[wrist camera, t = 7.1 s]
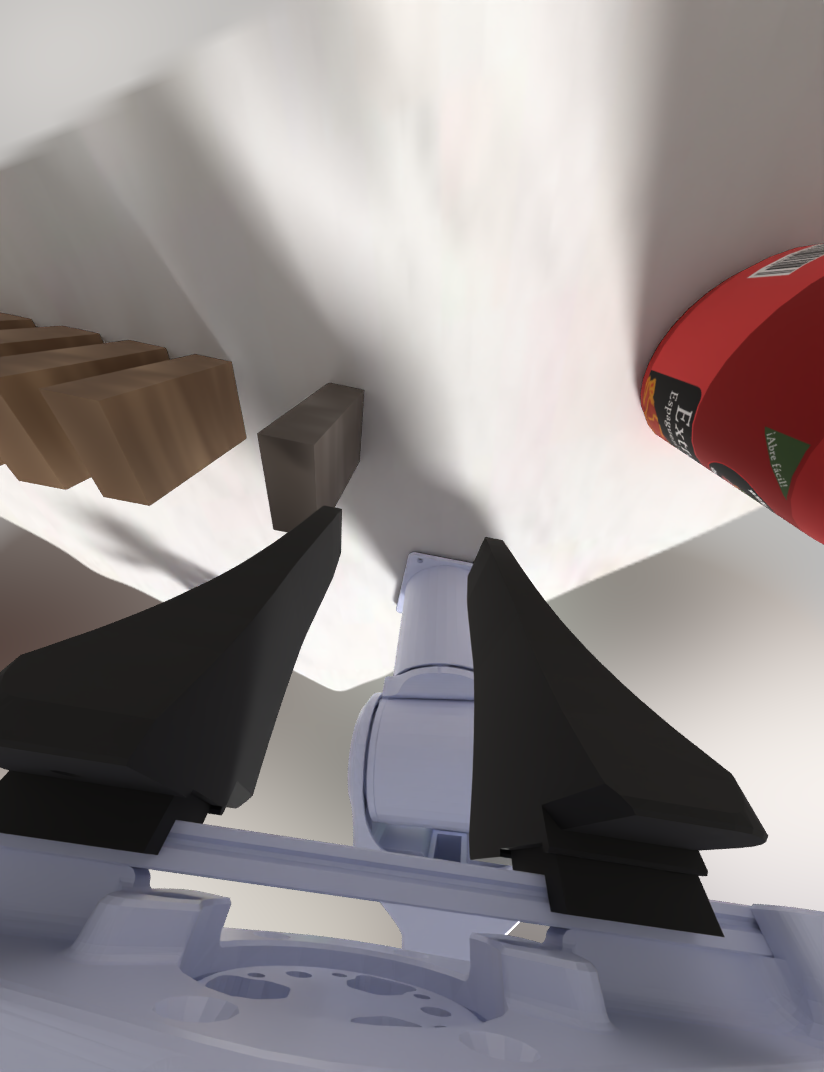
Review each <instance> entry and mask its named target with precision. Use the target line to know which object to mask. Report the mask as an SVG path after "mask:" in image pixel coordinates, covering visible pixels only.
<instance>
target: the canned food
mask: <svg viewBox="0 0 824 1072" xmlns="http://www.w3.org/2000/svg"><path fill="white" fill-rule="evenodd" d="M641 406H642V409H643V412H644V415H645V418H646V421H647V423H648V425H649V427H650V428H651V429H652V430H653V432H654V433H655V434H656V435H658V436H659V437H661V438H662V439H664V440H665V441H667V442H668V443H670V444H671V445H673V446H674V447H676V448H677V449H679V450H680V451H682V452H683V453H685V454H686V455H688V456H689V457H691V458H692V459H694V460H695V461H697V462H698V463H700V464H701V465H703V466H704V467H706V468H707V469H709V470H710V471H712V472H713V473H715V474H716V475H718V476H719V477H721V478H722V479H724V480H725V481H727V482H728V483H730V484H731V485H733V486H734V487H736V488H738V489H739V490H741V491H742V492H744V493H745V494H747V495H748V496H750V497H751V498H753V499H754V500H756V501H757V502H759V503H760V504H762V505H763V506H765V507H766V508H768V509H769V510H771V511H772V512H774V513H775V514H777V515H778V516H780V517H781V518H783V519H784V520H786V521H787V522H789V523H791V524H792V525H794V526H795V527H797V528H798V529H799V530H801V531H802V532H804V533H805V534H807V535H808V536H810V537H812V538H813V539H815V540H816V541H818V542H820V543H822V544H824V243H822V244H816V245H810V246H804V247H798V248H794V249H791V250H788V251H786V252H783V253H780V254H777V255H774V256H771V257H769V258H767V259H765V260H763V261H761V262H759V263H757V264H755V265H753V266H751V267H749V268H747V269H745V270H743V271H741V272H740V273H738V274H736V275H734V276H732V277H730V278H728V279H727V280H725V281H724V282H722V283H721V284H719V285H718V286H717V287H715V288H714V289H712V290H711V291H709V292H708V293H707V294H705V295H704V296H703V297H702V298H701V299H700V300H698V301H697V302H696V303H695V304H694V305H693V306H691V307H690V308H689V309H688V310H687V311H686V312H685V313H684V314H683V315H682V317H681V318H680V319H679V320H678V321H677V322H676V323H675V324H674V325H673V326H672V327H671V329H670V330H669V331H668V333H667V334H666V336H665V337H664V338H663V340H662V341H661V342H660V344H659V345H658V347H657V349H656V351H655V352H654V354H653V356H652V358H651V360H650V362H649V364H648V367H647V369H646V372H645V375H644V377H643V382H642V388H641Z"/></svg>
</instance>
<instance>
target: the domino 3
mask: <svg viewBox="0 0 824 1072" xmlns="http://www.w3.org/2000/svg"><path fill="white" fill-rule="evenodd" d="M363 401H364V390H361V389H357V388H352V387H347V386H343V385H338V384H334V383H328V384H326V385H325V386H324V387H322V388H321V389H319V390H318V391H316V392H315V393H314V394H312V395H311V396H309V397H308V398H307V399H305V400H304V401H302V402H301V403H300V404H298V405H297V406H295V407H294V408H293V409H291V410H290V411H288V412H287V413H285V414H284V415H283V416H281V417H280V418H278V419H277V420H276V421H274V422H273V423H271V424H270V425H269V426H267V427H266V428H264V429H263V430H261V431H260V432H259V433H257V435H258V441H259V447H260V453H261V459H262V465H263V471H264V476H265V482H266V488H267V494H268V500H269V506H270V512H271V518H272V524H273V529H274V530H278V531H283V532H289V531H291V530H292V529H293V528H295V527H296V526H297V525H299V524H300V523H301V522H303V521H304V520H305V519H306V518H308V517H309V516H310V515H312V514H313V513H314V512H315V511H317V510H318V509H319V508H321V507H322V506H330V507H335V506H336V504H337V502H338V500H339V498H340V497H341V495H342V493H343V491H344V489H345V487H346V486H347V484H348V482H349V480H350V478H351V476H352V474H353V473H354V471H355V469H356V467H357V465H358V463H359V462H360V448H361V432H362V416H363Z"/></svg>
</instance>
